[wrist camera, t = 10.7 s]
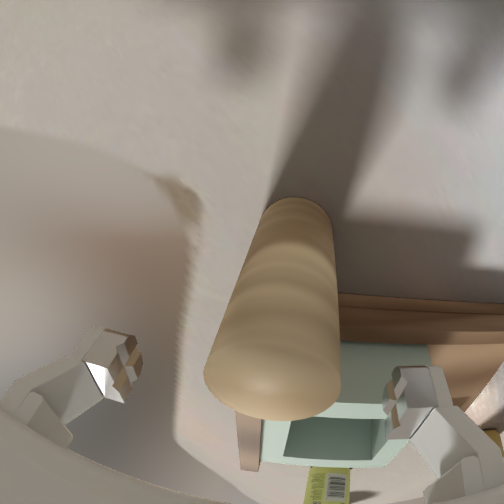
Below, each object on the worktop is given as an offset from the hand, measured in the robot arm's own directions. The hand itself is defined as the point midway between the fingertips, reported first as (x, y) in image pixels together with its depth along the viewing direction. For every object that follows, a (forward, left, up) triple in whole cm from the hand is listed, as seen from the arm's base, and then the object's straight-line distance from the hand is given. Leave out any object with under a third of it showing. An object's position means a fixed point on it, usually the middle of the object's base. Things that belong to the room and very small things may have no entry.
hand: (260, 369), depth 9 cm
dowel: (-1, 0, -8) cm, 8 cm away
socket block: (+8, +4, -7) cm, 11 cm away
